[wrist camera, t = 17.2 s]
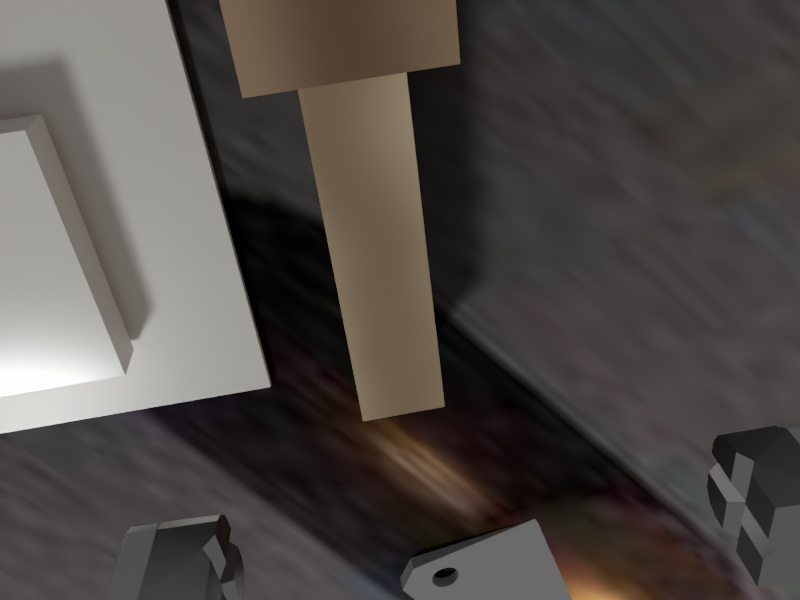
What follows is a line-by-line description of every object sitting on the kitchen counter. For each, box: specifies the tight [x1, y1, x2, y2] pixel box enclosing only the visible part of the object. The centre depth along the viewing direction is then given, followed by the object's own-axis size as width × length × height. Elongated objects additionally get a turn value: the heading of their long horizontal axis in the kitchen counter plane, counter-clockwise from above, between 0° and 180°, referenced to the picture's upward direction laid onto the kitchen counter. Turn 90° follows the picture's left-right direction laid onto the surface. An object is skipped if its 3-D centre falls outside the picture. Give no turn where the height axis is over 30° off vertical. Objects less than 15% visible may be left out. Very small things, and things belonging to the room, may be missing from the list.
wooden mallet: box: [219, 0, 460, 421], centre depth 23 cm, size 6×17×4 cm, turn 7°
